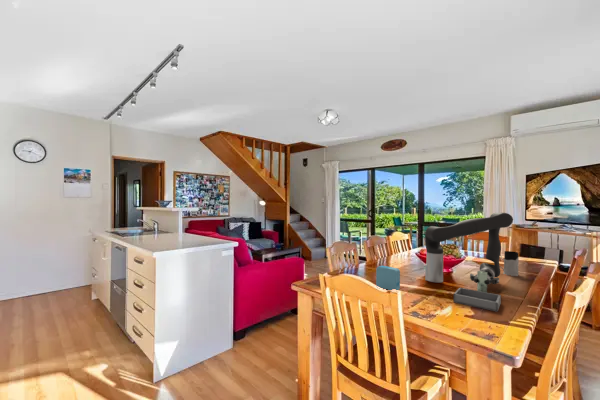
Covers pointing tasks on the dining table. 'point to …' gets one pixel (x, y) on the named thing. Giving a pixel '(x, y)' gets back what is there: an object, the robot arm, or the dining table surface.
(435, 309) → the dining table surface
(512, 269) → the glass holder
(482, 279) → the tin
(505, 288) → the dining table surface
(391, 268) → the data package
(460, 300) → the tote
